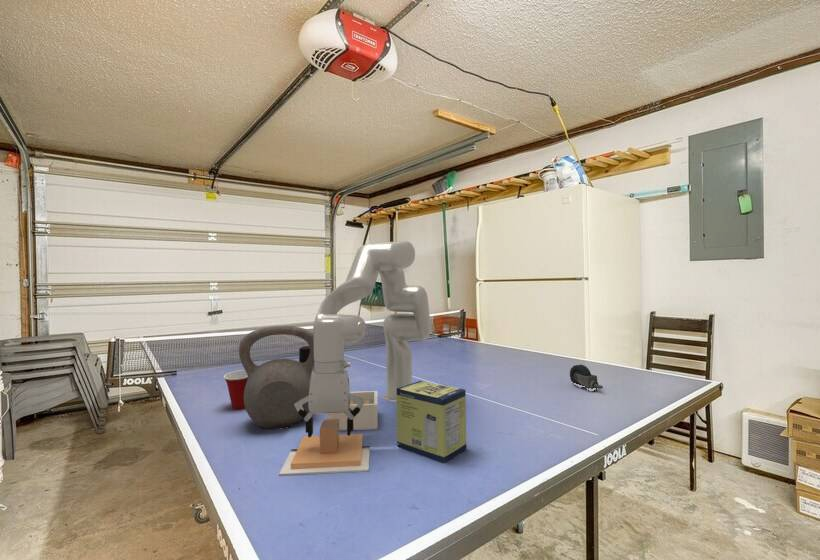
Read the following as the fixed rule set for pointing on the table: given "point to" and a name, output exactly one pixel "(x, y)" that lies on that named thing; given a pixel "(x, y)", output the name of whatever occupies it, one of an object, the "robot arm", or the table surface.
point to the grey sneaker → (583, 377)
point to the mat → (364, 467)
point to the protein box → (431, 420)
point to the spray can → (304, 354)
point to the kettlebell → (276, 380)
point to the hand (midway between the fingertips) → (329, 434)
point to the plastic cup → (236, 387)
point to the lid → (328, 448)
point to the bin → (361, 413)
